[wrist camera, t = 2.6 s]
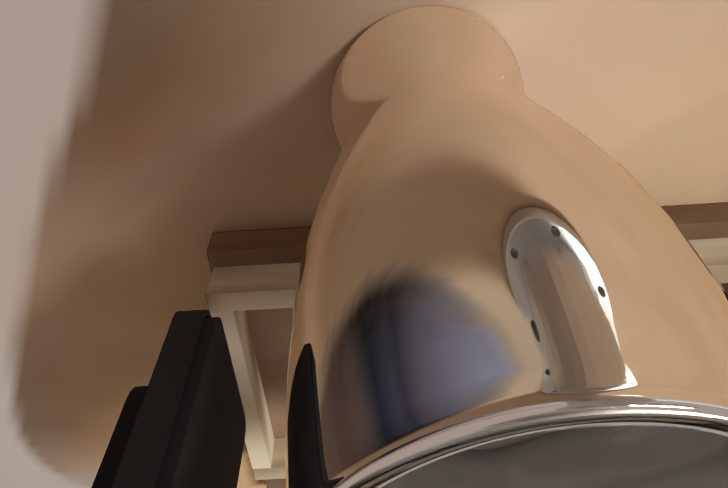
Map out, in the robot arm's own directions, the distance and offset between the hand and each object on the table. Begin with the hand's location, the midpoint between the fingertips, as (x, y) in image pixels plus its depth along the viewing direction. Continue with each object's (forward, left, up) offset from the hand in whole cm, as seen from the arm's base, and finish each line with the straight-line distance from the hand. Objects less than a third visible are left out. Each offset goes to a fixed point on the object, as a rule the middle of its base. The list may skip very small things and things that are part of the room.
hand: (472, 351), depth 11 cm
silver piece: (-1, 0, -11) cm, 11 cm away
